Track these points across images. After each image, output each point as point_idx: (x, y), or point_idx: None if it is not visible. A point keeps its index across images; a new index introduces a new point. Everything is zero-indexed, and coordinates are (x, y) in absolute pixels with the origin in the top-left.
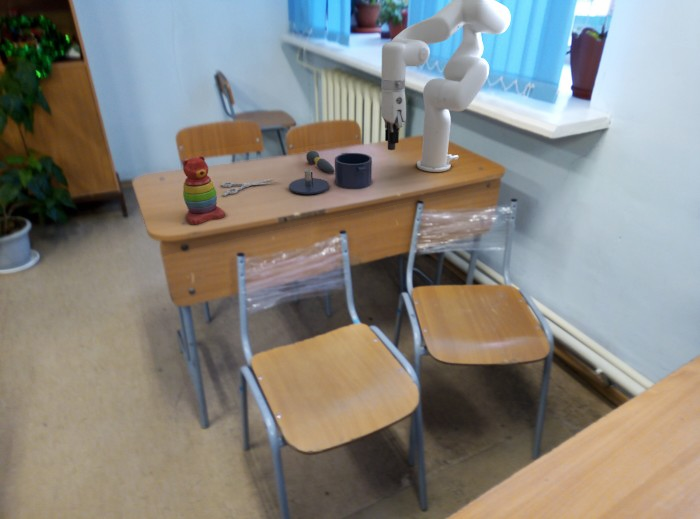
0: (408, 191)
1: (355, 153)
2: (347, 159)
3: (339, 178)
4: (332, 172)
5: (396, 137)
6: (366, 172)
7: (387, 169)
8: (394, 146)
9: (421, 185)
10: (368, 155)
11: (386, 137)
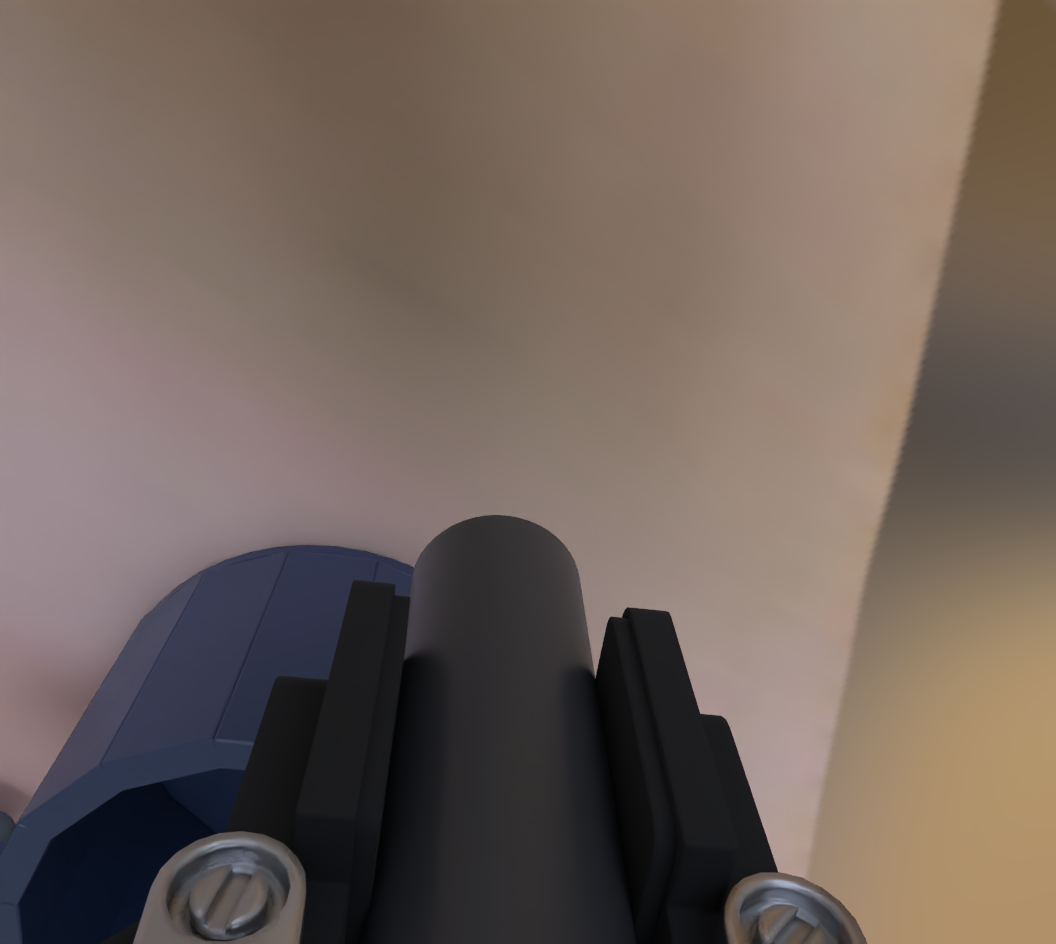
0: (906, 346)
1: (35, 853)
2: (60, 875)
3: None
4: (10, 825)
5: (739, 799)
6: None
7: (36, 132)
8: (582, 606)
9: (857, 60)
10: (210, 744)
11: None
